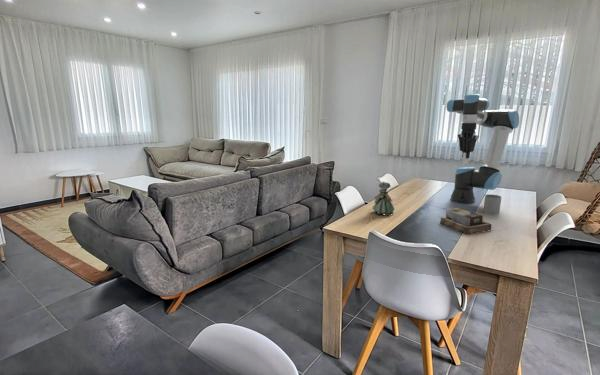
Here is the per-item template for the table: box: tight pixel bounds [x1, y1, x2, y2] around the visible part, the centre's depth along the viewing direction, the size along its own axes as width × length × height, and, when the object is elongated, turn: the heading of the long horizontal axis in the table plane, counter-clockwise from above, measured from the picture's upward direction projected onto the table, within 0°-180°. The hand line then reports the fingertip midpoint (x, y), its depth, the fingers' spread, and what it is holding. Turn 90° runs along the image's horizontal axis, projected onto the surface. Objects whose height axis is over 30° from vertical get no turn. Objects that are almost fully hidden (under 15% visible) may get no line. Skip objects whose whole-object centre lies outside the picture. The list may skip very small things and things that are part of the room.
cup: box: [483, 194, 502, 215], centre depth 192 cm, size 8×8×10 cm
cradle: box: [439, 216, 492, 235], centre depth 169 cm, size 18×16×4 cm
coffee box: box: [444, 207, 484, 227], centre depth 171 cm, size 9×6×16 cm
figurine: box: [372, 181, 395, 215], centre depth 193 cm, size 14×14×20 cm
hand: (465, 163), depth 185 cm, fingers closed
